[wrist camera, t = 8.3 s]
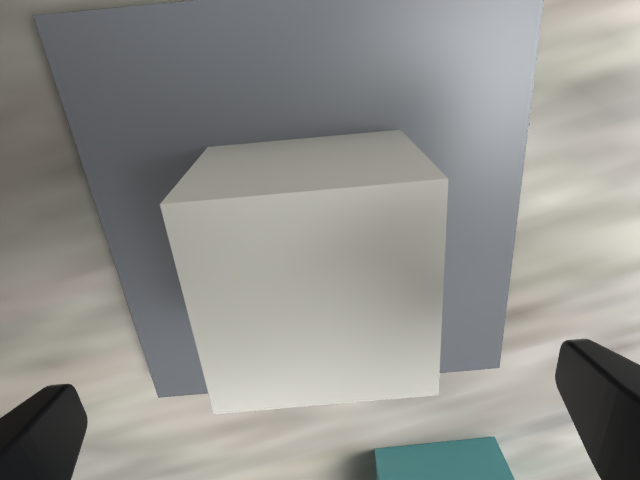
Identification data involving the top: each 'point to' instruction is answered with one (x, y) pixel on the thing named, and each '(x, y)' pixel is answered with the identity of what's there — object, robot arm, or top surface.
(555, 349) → the top surface
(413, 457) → the teal brick
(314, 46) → the baseplate
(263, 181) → the cream brick
